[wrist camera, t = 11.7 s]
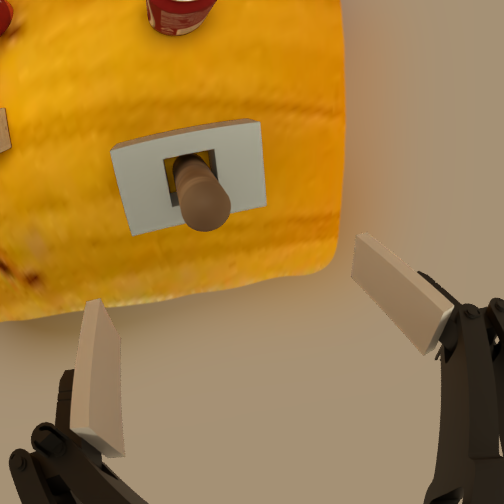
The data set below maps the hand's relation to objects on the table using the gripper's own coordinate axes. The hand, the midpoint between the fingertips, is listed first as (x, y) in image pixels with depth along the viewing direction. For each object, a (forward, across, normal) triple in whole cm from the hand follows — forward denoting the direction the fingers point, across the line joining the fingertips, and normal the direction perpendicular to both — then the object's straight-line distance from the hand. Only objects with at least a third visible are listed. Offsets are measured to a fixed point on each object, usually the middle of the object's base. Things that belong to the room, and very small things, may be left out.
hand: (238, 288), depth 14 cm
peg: (+25, 0, 0) cm, 25 cm away
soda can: (+25, +1, +20) cm, 32 cm away
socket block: (+25, 0, 0) cm, 25 cm away
